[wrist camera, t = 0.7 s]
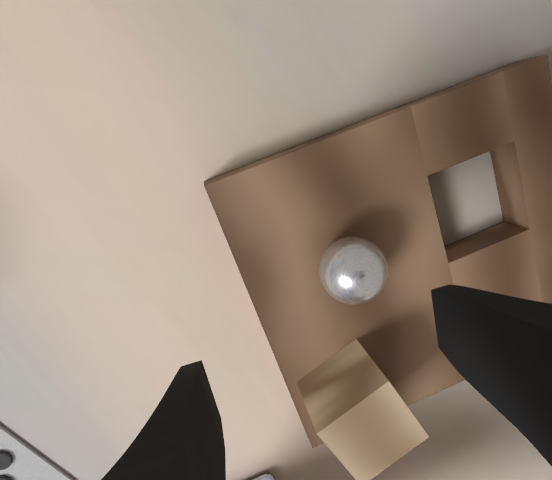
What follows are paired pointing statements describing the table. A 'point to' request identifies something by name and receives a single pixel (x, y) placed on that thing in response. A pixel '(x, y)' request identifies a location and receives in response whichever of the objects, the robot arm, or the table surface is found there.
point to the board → (394, 226)
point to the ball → (353, 270)
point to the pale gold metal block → (359, 413)
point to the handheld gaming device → (24, 461)
